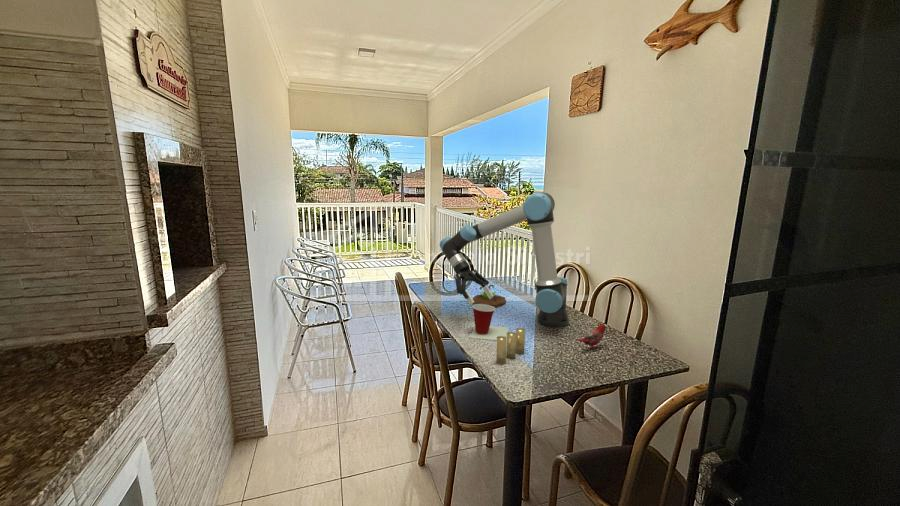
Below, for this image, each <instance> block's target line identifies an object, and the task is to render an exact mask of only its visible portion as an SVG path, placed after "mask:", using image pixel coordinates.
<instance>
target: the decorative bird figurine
mask: <svg viewBox="0 0 900 506" xmlns="http://www.w3.org/2000/svg"><path fill="white" fill-rule="evenodd" d="M606 328H607V327H606V325H605V324H604V323H600V324H599V325H598V326H597V327H596V328H595V329H594V330H592V331H591V332H590V333H588V334H586V335H585V336H584V338H577V339H575V341H577V342H578V341H579V342H582V343H583V344H585V345H587V346H590V350H592V349H596V348H598V344H599V343H601V341H602V339H603V337H604V335H605V331H606Z"/></svg>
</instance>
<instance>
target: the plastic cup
mask: <svg viewBox="0 0 900 506" xmlns="http://www.w3.org/2000/svg"><path fill="white" fill-rule="evenodd" d="M471 306H472V307H471V308H472V311H473V319H474V320H473V322H474V327H475V330H476V332H477V333H483V334H484V333H488V331H489V326H491V323H492V322H491V321H492V319H493V315H494V312H495V311H496V308H494V307H493V306H490V305H486V304H474V305H471Z"/></svg>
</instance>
